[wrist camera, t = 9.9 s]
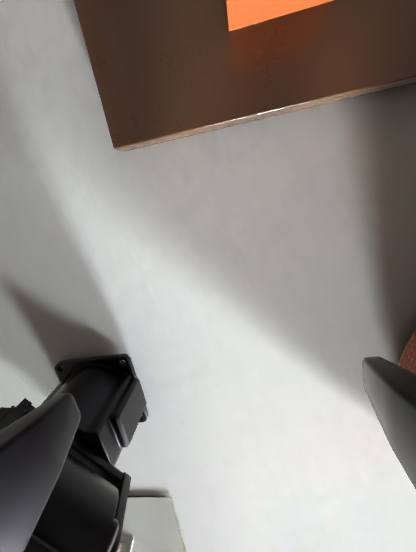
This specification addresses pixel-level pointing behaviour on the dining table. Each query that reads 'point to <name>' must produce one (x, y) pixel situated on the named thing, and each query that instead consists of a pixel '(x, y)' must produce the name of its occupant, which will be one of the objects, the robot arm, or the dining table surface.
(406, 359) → the planter
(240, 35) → the board
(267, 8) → the terracotta block
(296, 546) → the dining table surface
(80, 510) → the robot arm
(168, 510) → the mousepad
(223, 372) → the dining table surface
